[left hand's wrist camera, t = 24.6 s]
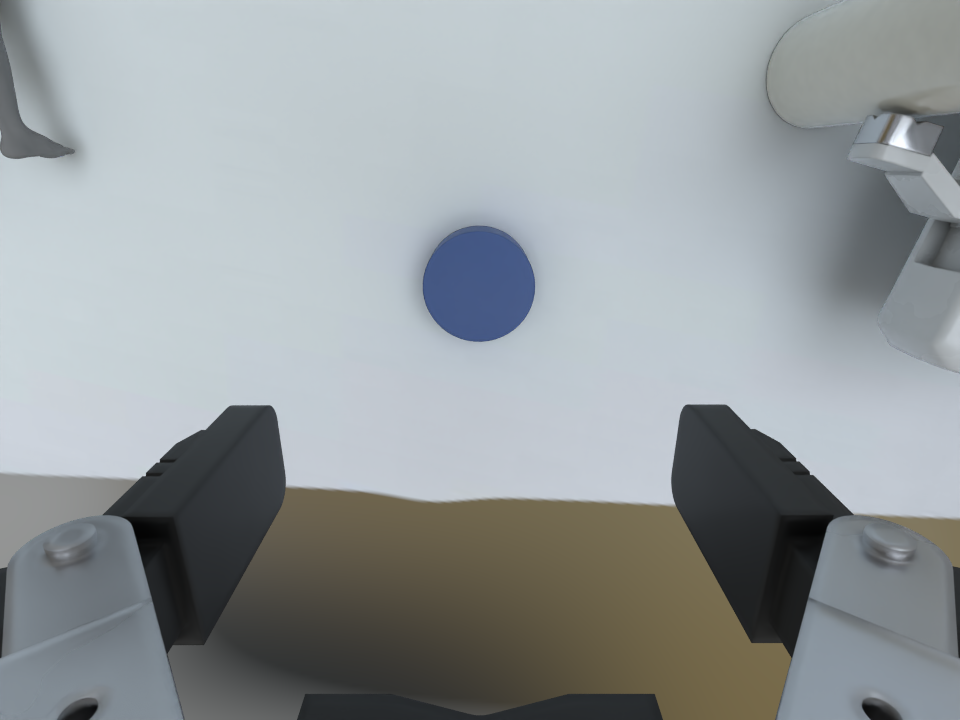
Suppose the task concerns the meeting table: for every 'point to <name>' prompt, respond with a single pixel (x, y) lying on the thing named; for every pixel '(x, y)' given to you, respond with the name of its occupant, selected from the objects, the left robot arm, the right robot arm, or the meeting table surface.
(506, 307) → the lid
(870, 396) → the meeting table surface
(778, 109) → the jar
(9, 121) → the figurine
